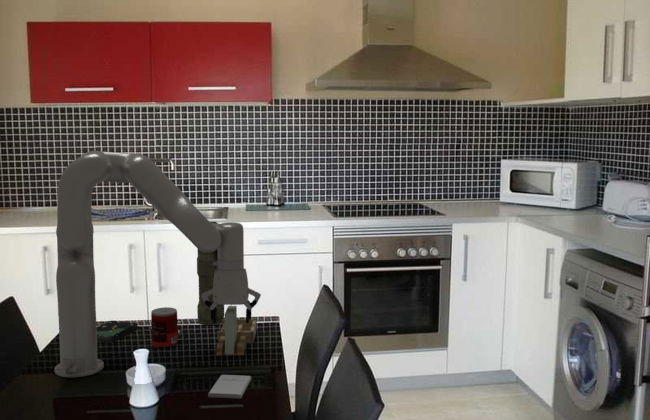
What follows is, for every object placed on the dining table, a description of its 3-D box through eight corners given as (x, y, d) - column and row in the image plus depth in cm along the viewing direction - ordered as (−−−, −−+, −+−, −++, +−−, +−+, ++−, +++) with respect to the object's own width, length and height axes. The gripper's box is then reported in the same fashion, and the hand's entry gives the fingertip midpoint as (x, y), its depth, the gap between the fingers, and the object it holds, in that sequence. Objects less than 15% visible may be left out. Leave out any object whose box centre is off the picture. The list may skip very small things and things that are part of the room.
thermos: (214, 330, 212) (212, 225, 208) (189, 324, 219) (187, 222, 215) (233, 324, 219) (232, 222, 215) (208, 318, 226) (207, 219, 222)
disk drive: (110, 328, 216) (83, 341, 202) (110, 320, 216) (83, 332, 202) (138, 330, 214) (112, 344, 199) (138, 322, 213) (112, 335, 199)
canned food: (176, 340, 202) (175, 306, 201) (179, 348, 195) (178, 313, 193) (151, 342, 200) (150, 308, 198) (152, 351, 192) (151, 315, 191)
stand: (243, 358, 187) (243, 346, 186) (215, 358, 186) (215, 346, 186) (246, 346, 196) (246, 335, 196) (220, 347, 196) (220, 335, 196)
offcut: (235, 335, 198) (235, 328, 198) (221, 335, 198) (221, 329, 197) (235, 330, 203) (235, 324, 203) (222, 330, 203) (222, 324, 202)
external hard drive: (208, 399, 159) (220, 379, 171) (241, 400, 158) (251, 381, 171) (208, 392, 159) (220, 374, 171) (240, 394, 158) (251, 375, 170)
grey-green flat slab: (233, 354, 187) (233, 314, 185) (225, 354, 187) (224, 314, 185) (236, 344, 196) (236, 305, 194) (228, 344, 196) (228, 305, 194)
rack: (253, 346, 197) (253, 332, 197) (217, 346, 197) (216, 332, 196) (256, 332, 211) (256, 319, 210) (222, 332, 211) (222, 319, 210)
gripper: (198, 267, 184) (199, 325, 186) (259, 267, 185) (259, 325, 187) (202, 262, 192) (203, 318, 194) (261, 262, 192) (261, 318, 194)
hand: (231, 322), depth 190 cm, fingers open, 9 cm apart
